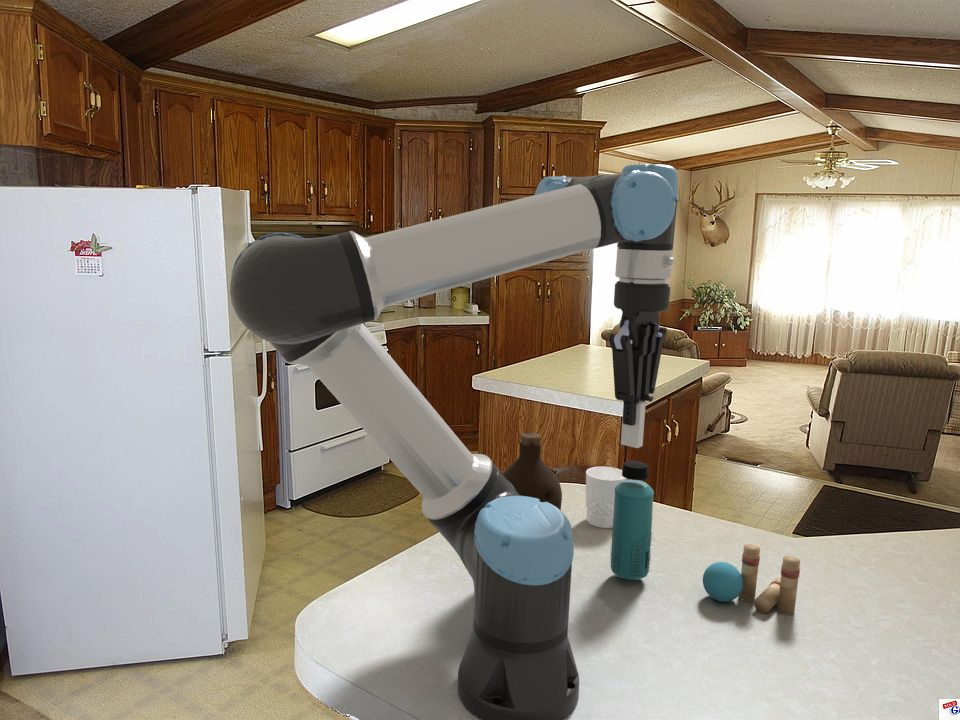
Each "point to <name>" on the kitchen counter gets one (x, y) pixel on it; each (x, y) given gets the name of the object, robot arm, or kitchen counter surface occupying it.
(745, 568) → the pin back left
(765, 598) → the pin front
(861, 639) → the kitchen counter surface
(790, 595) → the pin back right
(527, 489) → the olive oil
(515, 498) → the robot arm
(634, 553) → the beverage bottle
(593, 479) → the white cup
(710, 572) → the ball
